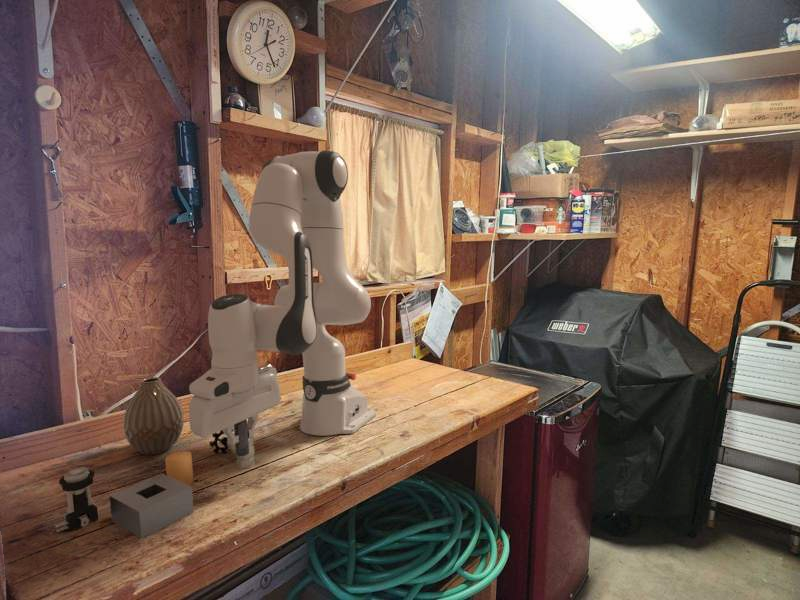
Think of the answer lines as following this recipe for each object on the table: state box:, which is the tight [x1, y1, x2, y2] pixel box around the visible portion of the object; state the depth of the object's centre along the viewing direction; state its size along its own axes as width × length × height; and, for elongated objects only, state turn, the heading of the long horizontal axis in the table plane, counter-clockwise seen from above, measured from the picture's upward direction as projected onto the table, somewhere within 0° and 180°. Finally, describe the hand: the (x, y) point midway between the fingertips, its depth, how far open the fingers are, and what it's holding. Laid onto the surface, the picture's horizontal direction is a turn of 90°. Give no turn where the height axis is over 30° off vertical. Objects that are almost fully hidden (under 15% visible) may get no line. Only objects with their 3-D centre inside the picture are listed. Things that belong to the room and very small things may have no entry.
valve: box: [209, 429, 256, 469], centre depth 115 cm, size 7×7×12 cm
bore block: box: [109, 472, 194, 540], centre depth 92 cm, size 10×10×5 cm
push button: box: [55, 466, 99, 533], centre depth 89 cm, size 7×5×10 cm
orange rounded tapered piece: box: [164, 451, 194, 486], centre depth 104 cm, size 5×5×6 cm
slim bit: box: [233, 419, 249, 456], centre depth 102 cm, size 3×3×8 cm
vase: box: [122, 376, 185, 455], centre depth 121 cm, size 13×13×18 cm
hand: (241, 439), depth 102 cm, fingers closed on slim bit, 3 cm apart
